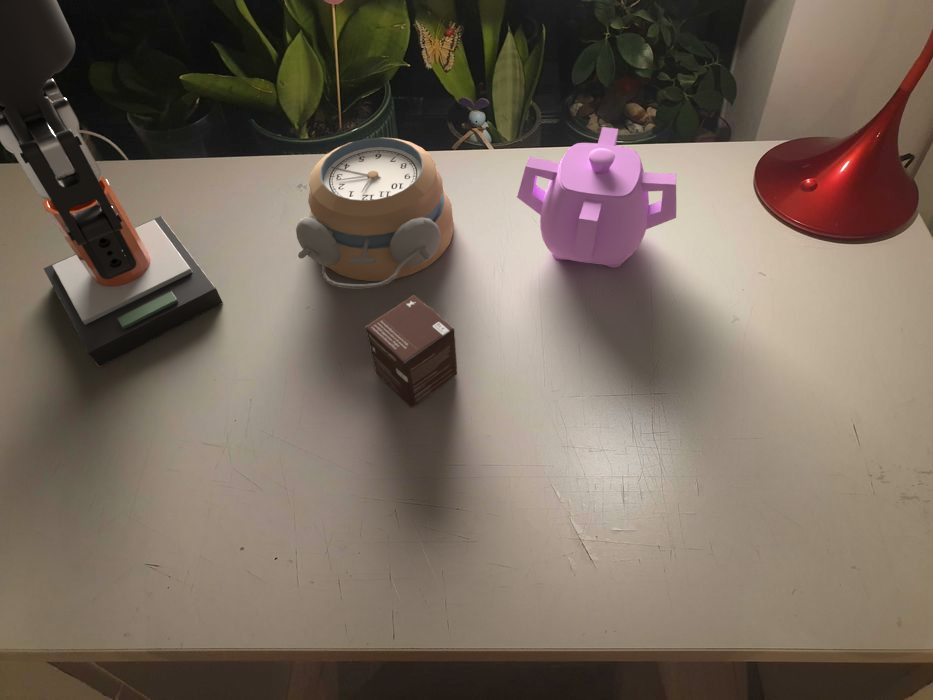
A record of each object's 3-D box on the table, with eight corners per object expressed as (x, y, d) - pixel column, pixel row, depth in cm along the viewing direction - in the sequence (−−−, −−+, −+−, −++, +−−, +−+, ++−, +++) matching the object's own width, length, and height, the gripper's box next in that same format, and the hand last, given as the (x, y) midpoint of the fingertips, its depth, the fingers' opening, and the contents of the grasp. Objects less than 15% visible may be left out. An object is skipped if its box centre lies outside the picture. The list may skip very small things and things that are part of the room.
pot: (532, 184, 84) (535, 99, 75) (672, 201, 81) (693, 115, 72) (500, 282, 73) (500, 198, 64) (660, 307, 70) (684, 221, 61)
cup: (117, 294, 71) (69, 222, 63) (80, 273, 73) (29, 201, 65) (162, 259, 74) (122, 186, 66) (126, 240, 76) (82, 167, 68)
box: (374, 373, 66) (362, 325, 60) (421, 341, 69) (413, 292, 63) (412, 410, 63) (403, 363, 58) (459, 375, 66) (455, 327, 60)
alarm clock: (454, 122, 77) (437, 259, 63) (458, 187, 84) (444, 323, 70) (311, 123, 78) (263, 258, 64) (327, 187, 86) (287, 320, 71)
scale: (99, 367, 68) (84, 349, 66) (54, 283, 77) (40, 264, 74) (223, 303, 73) (214, 284, 71) (168, 230, 82) (158, 211, 79)
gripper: (-162, -60, 33) (11, 202, 46) (-123, 49, 26) (71, 325, 38) (-2, -91, 36) (120, 164, 48) (74, -1, 29) (195, 271, 41)
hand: (98, 235), depth 43 cm, fingers open, 8 cm apart
